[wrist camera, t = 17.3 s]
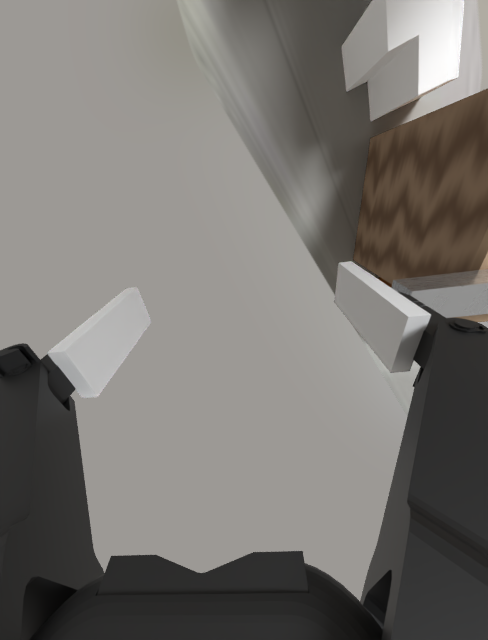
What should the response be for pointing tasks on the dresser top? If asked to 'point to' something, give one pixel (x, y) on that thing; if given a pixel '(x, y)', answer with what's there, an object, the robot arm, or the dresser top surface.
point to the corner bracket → (403, 50)
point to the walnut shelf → (428, 196)
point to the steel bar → (449, 292)
